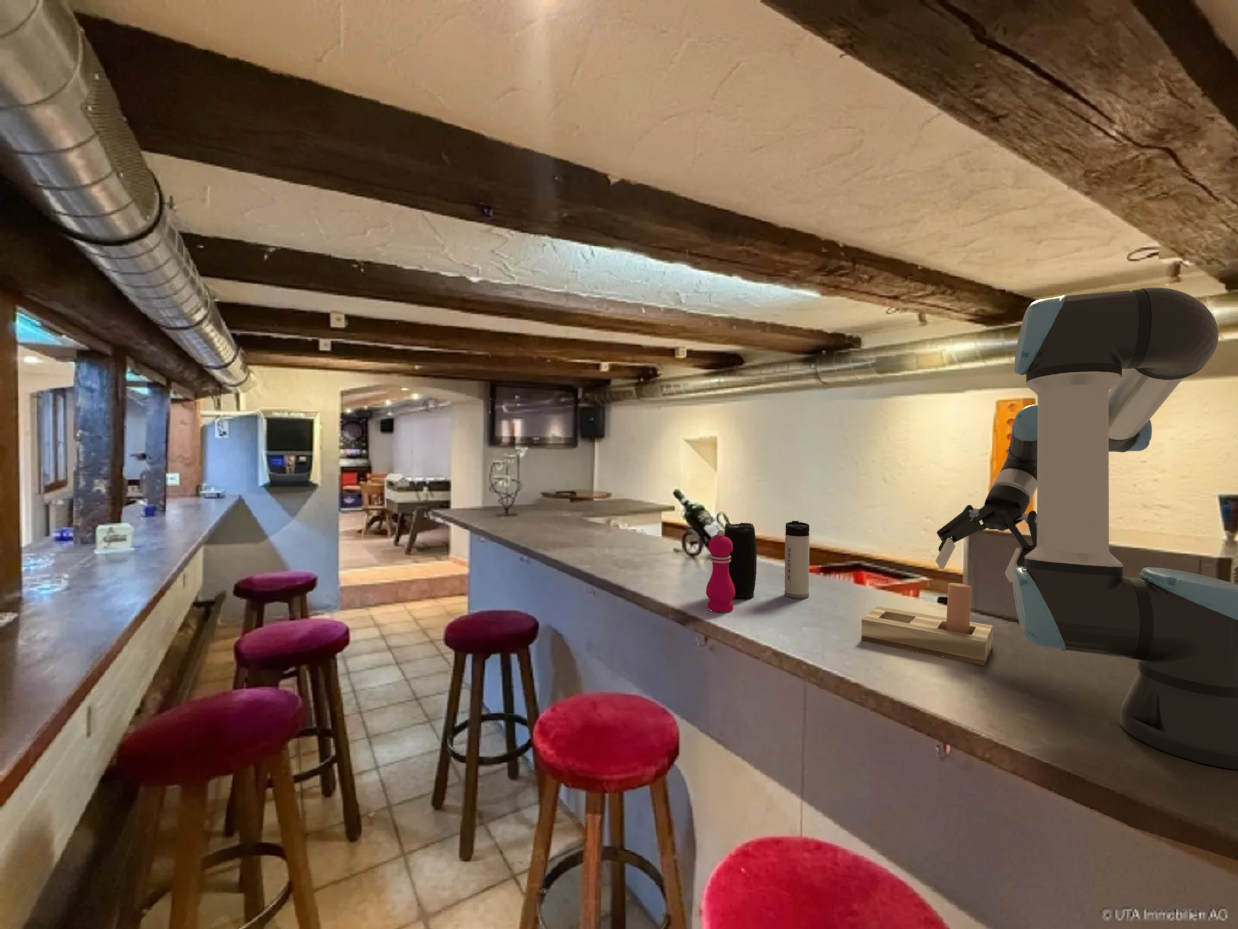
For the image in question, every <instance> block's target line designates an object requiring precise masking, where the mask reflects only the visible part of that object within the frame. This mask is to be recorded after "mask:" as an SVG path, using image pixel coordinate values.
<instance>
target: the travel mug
mask: <svg viewBox="0 0 1238 929" xmlns="http://www.w3.org/2000/svg"><path fill="white" fill-rule="evenodd" d="M784 528H785V532H784V536H785V538H784V596H785V597H787V598H790V599H796V600H797V599H798V600H799V599H802V600H804V599H808V598H809V596H810V591H809V590H810V524H808V522H807V523H806V522H802V521H799V520H791V521H789V522H786V523H785V527H784Z"/></svg>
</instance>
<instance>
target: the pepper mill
mask: <svg viewBox="0 0 1238 929" xmlns="http://www.w3.org/2000/svg"><path fill="white" fill-rule="evenodd" d="M724 532H725V530H723V529H718V531H717V532H716V534H717V535H715V536H713V537H711V538H710V540H709V542H708V550H709V552H710V553H711V555H710V562H712V564H711V565H712V570H711V575H710V577H709V580H708V582H707V584H706V588H705V595H706V596H707V598H708V599H709V600H708V601H707V609H708V608H709V609H710V610H712V611H716V612H715V613H717V612H728V613H731V612H733V611H734V602H733V600H734V599H733V598H734V596H735V588H734V584H733V582H732V580H731V578H730V575H729V562H731V560H730V558H731V556H730V553H731V552H732V550H733V544H732V541H731V540H730V539H729V538H728V537H725V536H724ZM709 609H708V610H709ZM710 610H709V611H710ZM732 610H733V611H732ZM712 611H711V612H712ZM730 611H731V612H730Z"/></svg>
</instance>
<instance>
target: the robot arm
mask: <svg viewBox="0 0 1238 929" xmlns="http://www.w3.org/2000/svg"><path fill="white" fill-rule="evenodd" d="M1219 334H1220V332H1219V326H1218V323H1217V320H1216V318H1215V317H1214V314H1213V313H1212V311H1211V310H1210V309H1209V308H1208V307H1207V306H1206V305H1205V304H1204V303H1203V302H1202V301H1200V300H1199V299H1198V298H1196V297H1194V296H1192V295H1191V294H1188V293H1186V292H1183V291H1180V290H1177V289H1173V288H1166V287H1143V288H1139V289H1138V288H1137V289H1129V290H1116V291H1115V290H1114V291H1105V292H1092V293H1080V294H1071V295H1067V294H1063V295H1061V296H1055V297H1049V298H1043V299H1042V298H1041V299H1038V300H1035V301H1033V302H1031V303H1030V305H1029V306H1028V307H1027V309H1026V310H1025V312H1024V315H1023V319H1022V322H1021V326H1020V330H1019V333H1018V339H1017V345H1016V349H1015V356H1014V368H1013V369H1014V373H1015V374H1016V375H1017V374H1018V375H1020V376H1024V375H1025V386H1026V387H1027V388H1028V389H1029V390H1031V391H1032V392H1033V393H1035V395H1037V404H1031V405H1027V406H1025V407H1023V408H1021V409H1020V410H1019V411H1018V412H1017V413H1016V415H1015V417H1014V420H1013V424H1012V426H1011V435H1010V443H1009V446H1008V450H1007V456H1006V459H1005V461H1004V463H1003V465H1002V468H1001V470H1000V471H999V473H998V475H997V477H996V478H995V480H994V482H993V484H992V486H991V488H990V490H989V492H988V494H987V495H986V498H985V500H984V504H983V506H981V507H980V508H977V507H976V508H974V507H973V505H971V504H968V505H966V506H965V508H964V509H963V510H962V511H961V512H960V513H959V514H958V515H956V516H955V517H954V518H953V519H951V520H950V521H949V522H947V523H946V524H945V525H943V526H942V527H940V528H939V529H938V530H937V531H936V534H937V536H938V538H939V540H941V543H940V544H939V546H938V548H937V549H938V552H939V553H938V555H937V557H936V559H935V563H936V565H937V566H938V568H939V569H940V570H945V567H946V565H947V563H948V562H949V560H950V558H951V556H952V554H953V552H954V550H955V549H956V545H955V543H957V542H959V541H961V540H963V539H964V538H967V537H969V536H970V535H973V534H974V533H977V532H978V531H980V532H982V531H984V530H991V531H993V530H994V531H995V530H997V531H1000V532H1005V531H1007V530H1009V531H1010V533H1011V534H1012V536H1013V537H1014V539H1015V541H1016V542H1017V543H1018V545H1019V546H1020V547H1016V548H1015V550H1014V553H1013V555H1012V557H1011V558H1010V561H1009V563H1008V565H1007V567H1006V569H1005V572H1004V575H1005V577H1006V579H1007V580H1008V582H1010V583H1012V590H1013V597H1014V603H1015V604H1014V606H1015V609H1016V615H1017V619H1018V622H1019V626H1020V629H1021V632H1022V634H1023V636H1024V637H1025V639H1026V640H1027V641H1028V642H1029V643H1031V644H1033V645H1036V646H1039V647H1045V648H1049V649H1056V650H1060V651H1061V652H1066V651H1071V652H1078V653H1084V654H1092V655H1100V656H1106V657H1114V658H1122V659H1128V660H1136V661H1137V674H1136V676H1135V678H1134V680H1133V682H1132V684H1131V686H1130V688H1129V690H1128V692H1127V693H1126V696H1125V697H1124V699H1123V701H1122V703H1121V705H1120V710H1119V711H1120V712H1119V724H1120V726H1121V727H1122V729H1123V730H1124V731H1125V732H1126V733H1128V734H1129V735H1131V736H1132V737H1134V738H1135V739H1137V740H1139V741H1141V742H1142V743H1145V744H1147V745H1149V746H1151V747H1152V748H1155V749H1157V750H1160V751H1163V752H1165V753H1167V754H1170V755H1174V756H1176V757H1178V758H1181V759H1186V760H1189V761H1193V762H1197V763H1200V764H1205V765H1209V766H1212V767H1213V766H1214V767H1219V768H1225V769H1232V770H1238V584H1236V583H1233V582H1230V581H1227V580H1224V579H1223V580H1222V579H1219V578H1217V577H1210V576H1207V575H1202V574H1198V573H1193V572H1190V571H1189V572H1188V571H1182V570H1177V569H1171V568H1164V567H1153V566H1152V567H1151V566H1148V567H1147V566H1145V567H1144V568H1142V569H1141V571H1140V572H1139V574H1138V575H1139V577H1132V576H1131V577H1130V576H1124V565H1123V563H1122V562H1121V561H1120V560H1119V559H1117V558H1116V557H1115V556H1114V555H1113V554H1112V553H1111V551H1110V503H1109V502H1110V500H1109V499H1110V489H1109V488H1110V482H1109V481H1110V477H1109V476H1110V473H1109V472H1110V469H1109V468H1110V467H1109V466H1110V465H1109V464H1110V462H1109V461H1110V460H1109V458H1110V457H1109V456H1110V454H1109V453H1110V452H1111V453H1127V452H1140V451H1141V452H1142V451H1144V450H1145V449H1146V450H1147V448H1148V447H1149V445H1150V442H1151V440H1152V435H1153V434H1152V433H1153V425H1152V422H1151V418H1152V417H1153V416H1154V415H1155V413H1156V412H1157V411H1158V410H1159V409H1160V407H1162V405H1163V404H1164V403H1165V401H1166V400H1167V399H1168V398H1169V396H1170V395H1171V394H1172V393H1173V391H1175V389H1176V388H1177V387H1178V385H1179V384H1180V383H1181V382H1182V381H1183V380H1184V379H1187V378H1190V377H1192V376H1193V375H1195V374H1197V373H1198V372H1199V371H1200V370H1202V369H1203V368H1204V367H1205V365H1206V364H1207V363H1208V362H1209V361H1210V360H1211V358H1212V357H1213V355H1214V353H1215V352H1216V350H1217V346H1218V342H1219V338H1220V337H1219V336H1220V335H1219ZM1035 492H1036V510H1030V511H1029V512H1028V513H1026V511H1027V509H1028V507H1029V505H1030V502H1031V501H1032V499H1033V497H1034V494H1035ZM1023 521H1024V522H1025V523H1026V524H1028V525H1027V526H1028V529H1029V534H1030V537H1031V542H1032V544H1030V545H1029V543H1028V542H1027V540H1026V539H1025V537H1024V535H1023V534H1022V533H1021V532H1020V530H1019V529H1018V526H1017V525H1018V524H1020V523H1021V522H1023ZM981 522H982V523H981Z"/></svg>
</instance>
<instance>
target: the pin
mask: <svg viewBox="0 0 1238 929" xmlns="http://www.w3.org/2000/svg"><path fill="white" fill-rule="evenodd" d="M947 585H948V586H947V601H946V602H947V603H946V604H947V605H946V606H947V607H946V618H947V620H946V630H948V631H953V632H959V633H964V634H969V628H970V622H971V609H972V608H971V607H972V606H971V603H972V587H973V586H971V585H969V584H964V583H959V582H949V583H948V584H947Z"/></svg>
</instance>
